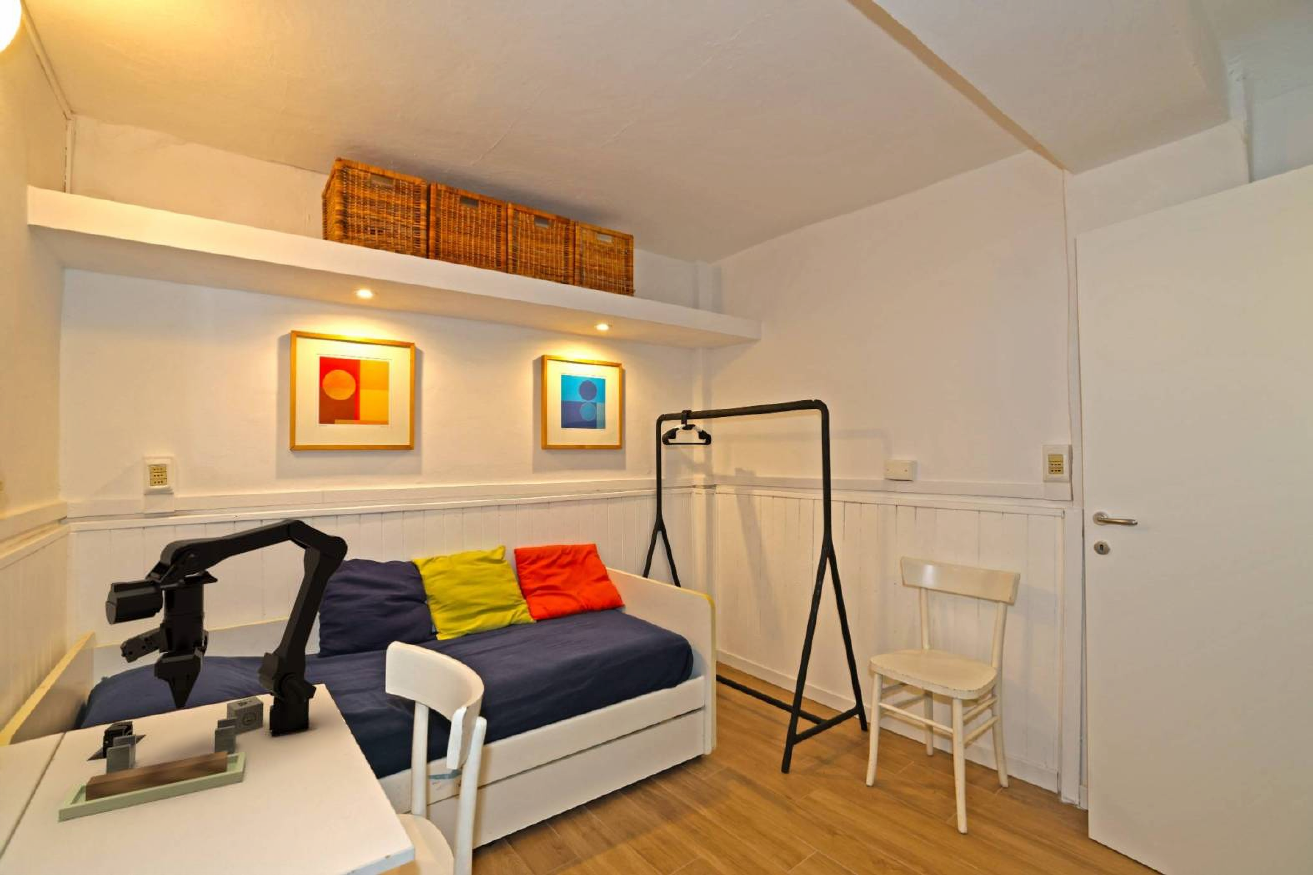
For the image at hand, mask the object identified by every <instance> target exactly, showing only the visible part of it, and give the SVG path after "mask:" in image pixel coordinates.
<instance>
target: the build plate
mask: <svg viewBox="0 0 1313 875" xmlns="http://www.w3.org/2000/svg"><path fill="white" fill-rule="evenodd" d="M103 732H104V734H103V736H102V747H101V748H99V749H98V750H97V751H96V752H94V754H92V755H91V756H89V757H88V758H87V760H86V762H89V761H97V760H98V761H99V760H104V759H106V757H107V749H108V748H111V747H113V739H114V738H116V737H122V736H128V735H134V725H133V720H129V721H118V722H113V723H112V724H111V725H109V726H108V727H107V728H106V729H105V730H104V731H103ZM146 736H147V734H140V735H137V734H136V745H137V744H139V742H141V741H142V740H143V739H144V738H145V737H146ZM106 760H107V759H106Z"/></svg>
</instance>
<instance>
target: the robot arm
mask: <svg viewBox="0 0 1313 875" xmlns="http://www.w3.org/2000/svg"><path fill="white" fill-rule="evenodd" d="M289 541H290V542H292V543H293V544H294V545H296V546H297V547H300V549H302V550H304V554H303V560H302V561H303V572H304V575H303V579H302V581H301V584H300V586H299V590H298V593H297V595H296V598H295V601H294V604H293V607H292V610H291V612H290V616H289V618H288V621H287V624H286V627H285V630H284V632H283V635H282V638H281V641H280V643H279V645H278V646H277V647H276V649H275V650H273V652H272V653H271V652H268V651H266V652H265V653H264V654H263V658H262V663H261V665H260V667H259V668H258V670H257V672H256V673H257V674H258V675H259V677H258V682H259V684H260V686H261V687H262V688H263V689H265V690H266V691H268V694H269V695H270V697H273V699H272V700H273V701H272V705H270V706H269V714H268V715H269V719H268V720H269V721H268V731H269V732H271V733H270V734H271V737H272V738H273V737H277V736H278V737H279V736H283V735H284V736H285V735H289V734H293V733H300V732H305V731H308V730H310V700H312V699H313V698H314V697H315V694H316V691H317V687H316V686H315V685H314V684H312V683H311V682H309V681H308V680H307V679H305V677H306V676H305V675H306V670H307V656H306V648H307V645H308V642H309V639H310V635H311V633H312V630H313V628H314V624H315V621H316V620H317V616H318V613H319V610H320V607H321V605H322V601H323V598H324V595H325V593H326V590H327V586H328V583H329V581H330V580H331V578H332V577H333V576H334V574H336V572H337V571H338V570H339V569H340V567H342V564H343V562H344V560H345V558H346V556H347V554H348V550H349V546H348V544H347V541H346V540H345V539H344V538H343V537H341V536H339V535H338V536H337V535H332V534H327V533H325V532H323V531H322V530H319V529H317V528H315V527H312V526H311V525H309V524H307V523H306V522H305V521H303V520H302V519H295V518H286V519H282V520H281V521H278V522H274V523H270V524H266V525H262V526H258V527H254V528H250V529H246V530H242V531H239V532H234V533H231V534H226V535H223V536H216V537H201V538H189V539H187V538H186V539H179V540H174V541H172V542H170V543H169V542H168V544H166V545H165V546H164V548H163V550H162V551H161V554H160V556H159V558H160V559H159V560H158V561H157V563H156V564H155V565H154V566H153V568H151V570H149V572H148V573H147V575H146V576H145V578H144V579H138V580H132V581H117V582H115V581H114V582H111V584H110V590H109V592H108V594H107V599H106V600H105V603H104V604H105V605H104V606H105V607H104V608H105V617H106V620H107V622H108V624H109V625H110V626H112V625H117V624H123V623H129V622H133V621H139V620H140V621H141V620H144V619H145V620H146V619H151V618H154V617H156V614H157V613H158V614H159V613H160V612H161V611H162V609H163V618H162V620H161V622H160V623H159V626H157V627H156V628H152V629H149V630H148V631H145V632H142V633H140V634H137V635H135V636H132V637H129V638H128V639H127V640H126V639H125V640H124V641H123V642H122V644H120V646H119V649H120V650H121V657H122V658H124V659H125V661H126V663H127V664H131V663H133V662H136V661H137V660H138V659H140V658H142V657H144V656H146V655H149V654H151V653H154V652H157V651H158V654H162V655H161V656H160V657H158V658H157V659H156V661H155V663H154V668H153V670H154V671H153V672H154V673H153V677H155V678H156V679H157V680H162V681H164V682H166V683H167V684H168V686H169V689H170V693H171V696H172V699H173V703H174V706H175V708H176V709H183V708H185V706H186V704H187V702H188V699H189V697H190V695H191V693H192V690H193V688H194V686H195V684H196V682H197V679H198V677H199V674H200V673H201V671H202V667H203V660H204V658H205V655H206V652H207V649H208V646H209V642H210V641H209V637H210V636H209V634H210V632H209V631H208V630H206V629H205V628H204V625H205V622H204V620H205V617H206V612H205V610H204V609H205V603H204V602H205V598H204V597H205V585H208V584H216V583H218V581H219V579H218V578H216V577H215V576H214V575H212V574H211V573H210V571H209V570H208V569H210V568H213V567H215V566H216V565H218V564H220V563H221V562H223V561H224V560H226V559H227V560H228V559H229V558H232V557H235V556H239V555H241V554H245V553H249V552H252V551H256V550H259V549H263V548H267V547H270V546H274V545H278V544H281V543H285V542H289Z"/></svg>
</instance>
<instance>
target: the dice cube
mask: <svg viewBox="0 0 1313 875" xmlns="http://www.w3.org/2000/svg"><path fill="white" fill-rule="evenodd" d="M232 717H237V732H236V736H237V735H241V734H244V733H247V732H250V731H255V730H258V729H261V728H263V727H264V702H263V700H261V699H260V698H258V697H257V696H255V695H254V696H251V697H247V698H242V699H240V700H235V701H232V702H228V703H226V718H232Z"/></svg>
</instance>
